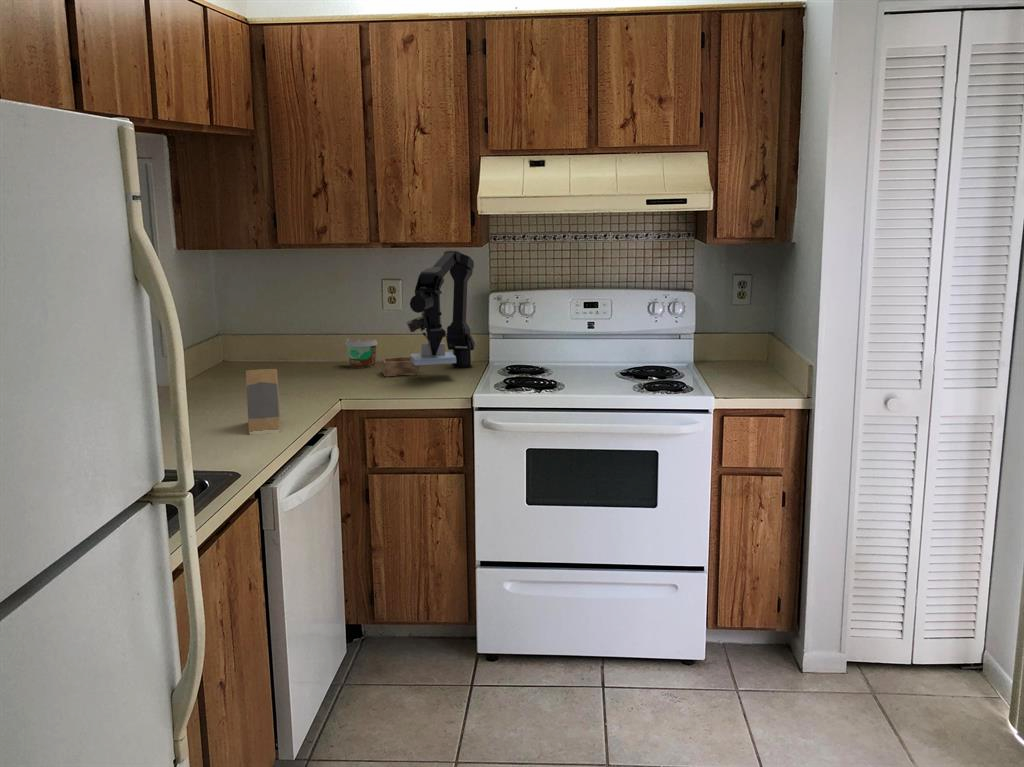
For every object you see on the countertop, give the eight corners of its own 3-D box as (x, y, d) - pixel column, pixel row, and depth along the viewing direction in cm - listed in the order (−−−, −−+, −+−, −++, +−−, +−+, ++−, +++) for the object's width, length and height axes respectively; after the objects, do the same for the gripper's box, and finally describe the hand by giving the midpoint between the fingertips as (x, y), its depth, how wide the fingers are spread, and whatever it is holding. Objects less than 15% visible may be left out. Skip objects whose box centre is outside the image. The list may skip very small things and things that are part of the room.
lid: (450, 357, 321) (450, 340, 320) (456, 362, 311) (455, 345, 309) (410, 359, 318) (409, 342, 317) (414, 365, 308) (414, 347, 306)
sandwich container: (247, 436, 245) (243, 380, 242) (249, 422, 260) (245, 370, 257) (281, 433, 247) (277, 378, 244) (280, 420, 262) (277, 368, 259)
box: (416, 370, 330) (415, 356, 329) (419, 374, 322) (418, 360, 321) (382, 372, 328) (381, 358, 327) (384, 377, 319) (384, 362, 318)
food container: (340, 367, 337) (339, 340, 335) (348, 364, 343) (346, 338, 341) (371, 369, 334) (370, 341, 331) (378, 366, 339) (377, 339, 337)
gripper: (404, 306, 318) (406, 351, 321) (411, 313, 300) (413, 360, 303) (436, 305, 320) (438, 349, 324) (445, 311, 302) (446, 358, 306)
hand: (433, 354), depth 314 cm, fingers closed on lid, 2 cm apart
